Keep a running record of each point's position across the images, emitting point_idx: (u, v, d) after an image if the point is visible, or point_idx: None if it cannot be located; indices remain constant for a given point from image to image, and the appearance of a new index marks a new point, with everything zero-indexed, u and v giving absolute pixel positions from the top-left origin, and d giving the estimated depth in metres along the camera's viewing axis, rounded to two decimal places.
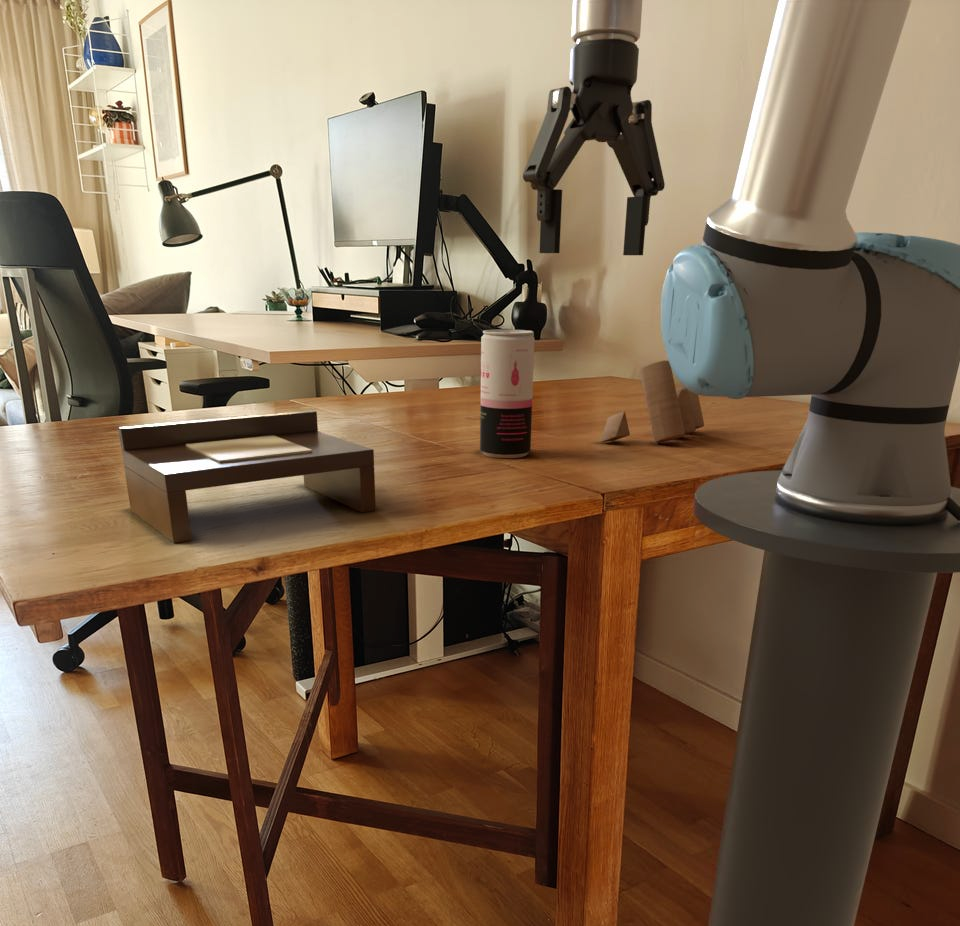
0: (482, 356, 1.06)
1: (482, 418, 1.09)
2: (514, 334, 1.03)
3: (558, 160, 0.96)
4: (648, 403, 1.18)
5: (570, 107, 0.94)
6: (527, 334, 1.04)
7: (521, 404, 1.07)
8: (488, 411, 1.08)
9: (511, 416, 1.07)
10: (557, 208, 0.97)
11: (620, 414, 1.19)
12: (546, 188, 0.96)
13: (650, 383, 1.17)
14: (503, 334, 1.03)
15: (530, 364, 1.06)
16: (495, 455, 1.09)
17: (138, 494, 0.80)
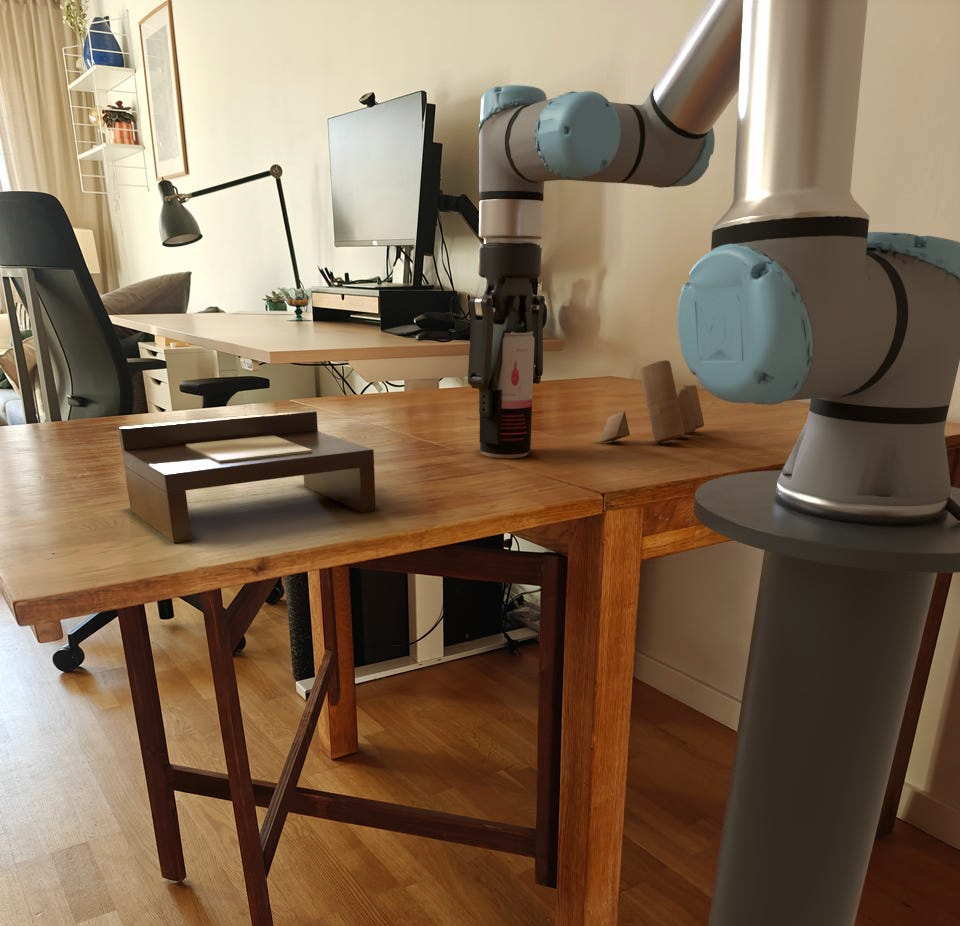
0: None
1: None
2: (514, 334, 1.03)
3: (493, 363, 1.04)
4: (648, 403, 1.18)
5: (493, 312, 1.00)
6: (527, 334, 1.04)
7: (521, 404, 1.07)
8: None
9: (511, 416, 1.07)
10: (498, 406, 1.06)
11: (620, 414, 1.19)
12: (490, 391, 1.05)
13: (649, 383, 1.17)
14: None
15: (530, 363, 1.06)
16: (495, 455, 1.09)
17: (138, 494, 0.80)
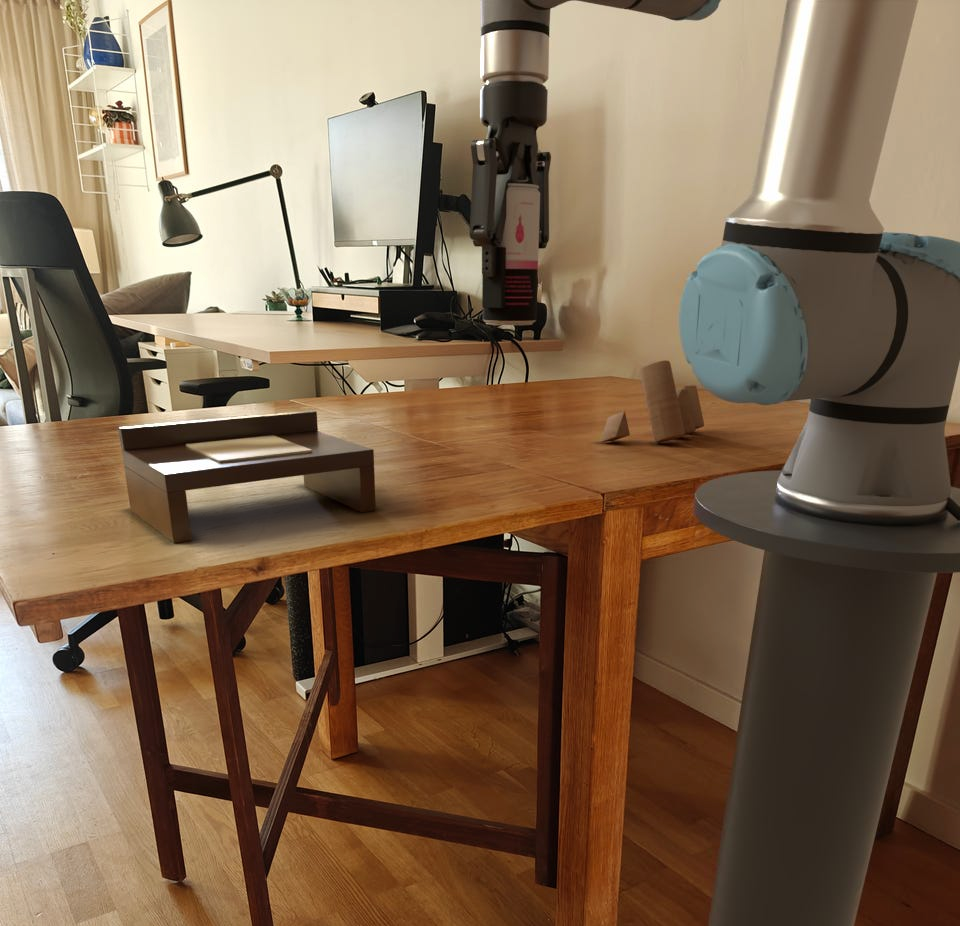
0: None
1: None
2: (518, 185, 0.97)
3: (496, 216, 0.97)
4: (648, 403, 1.18)
5: (496, 156, 0.94)
6: (532, 186, 0.98)
7: (526, 264, 1.00)
8: None
9: (515, 277, 1.00)
10: (502, 265, 0.99)
11: (620, 414, 1.19)
12: (494, 247, 0.98)
13: (649, 383, 1.17)
14: None
15: (536, 220, 1.00)
16: (499, 322, 1.03)
17: (138, 494, 0.80)
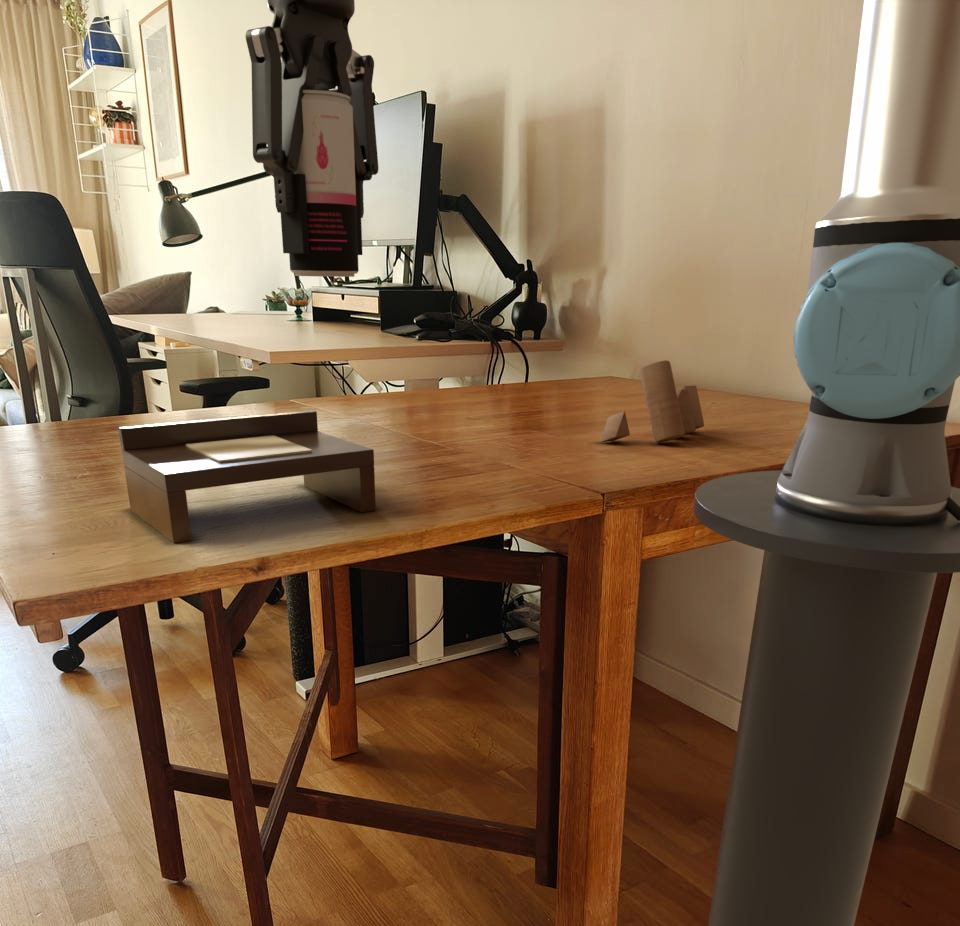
0: None
1: None
2: (317, 92, 0.75)
3: (288, 133, 0.76)
4: (648, 403, 1.18)
5: (280, 51, 0.72)
6: (337, 95, 0.76)
7: (335, 198, 0.79)
8: None
9: (321, 214, 0.79)
10: (301, 197, 0.78)
11: (620, 414, 1.19)
12: (287, 174, 0.77)
13: (649, 383, 1.17)
14: None
15: (346, 140, 0.78)
16: (305, 272, 0.81)
17: (138, 494, 0.80)
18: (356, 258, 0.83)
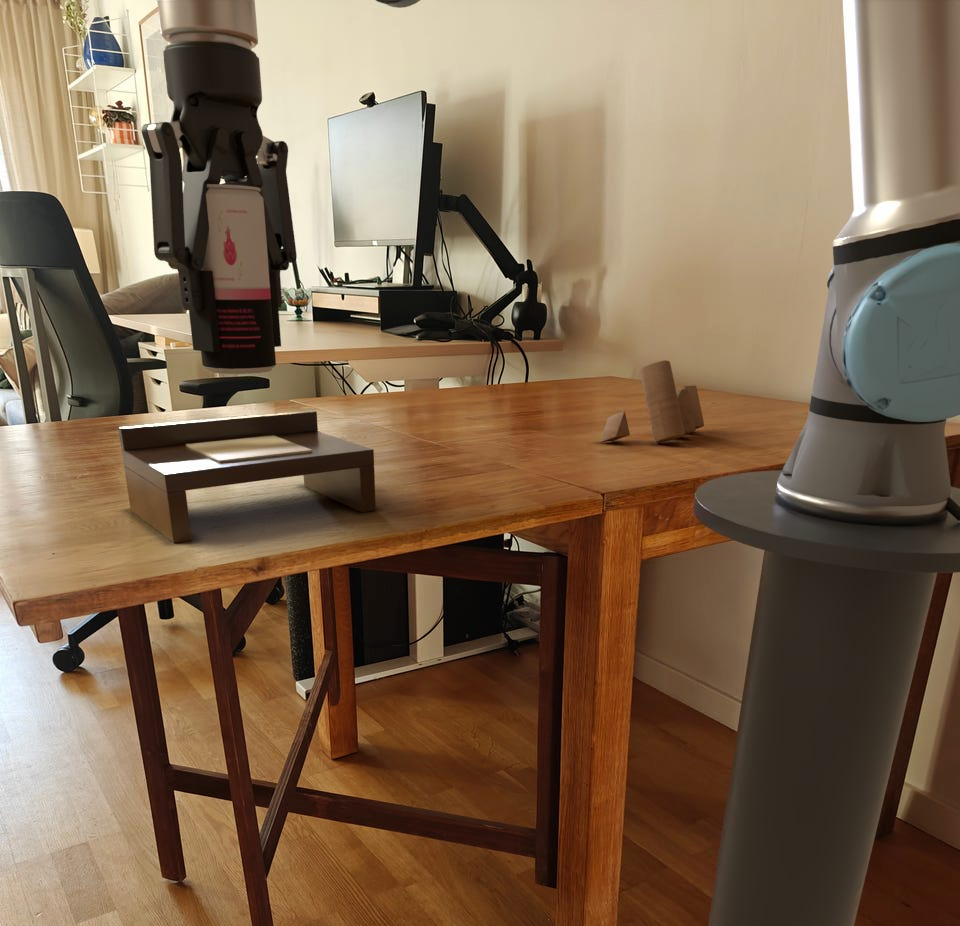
0: None
1: None
2: (221, 186, 0.71)
3: (192, 229, 0.71)
4: (648, 403, 1.18)
5: (179, 147, 0.68)
6: (244, 188, 0.72)
7: (245, 294, 0.74)
8: None
9: (231, 311, 0.74)
10: (209, 295, 0.73)
11: (620, 414, 1.19)
12: (193, 271, 0.72)
13: (649, 383, 1.17)
14: None
15: (256, 234, 0.74)
16: (217, 370, 0.77)
17: (138, 494, 0.80)
18: (272, 353, 0.78)
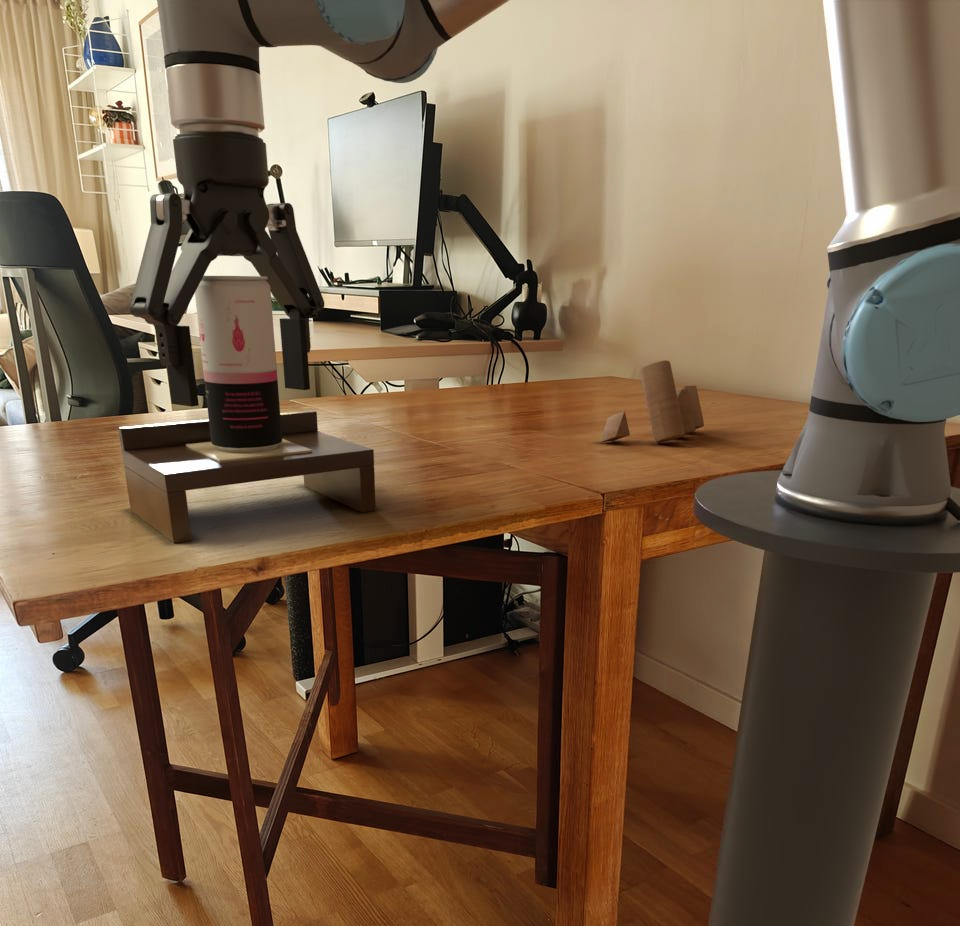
0: (197, 311, 0.77)
1: (206, 398, 0.79)
2: (230, 278, 0.74)
3: (177, 288, 0.71)
4: (648, 403, 1.18)
5: (183, 220, 0.70)
6: (252, 279, 0.75)
7: (253, 378, 0.77)
8: (209, 387, 0.78)
9: (239, 394, 0.77)
10: (186, 350, 0.72)
11: (620, 414, 1.19)
12: (166, 325, 0.71)
13: (649, 383, 1.17)
14: (215, 278, 0.74)
15: (263, 321, 0.76)
16: (225, 449, 0.80)
17: (138, 494, 0.80)
18: (279, 430, 0.81)
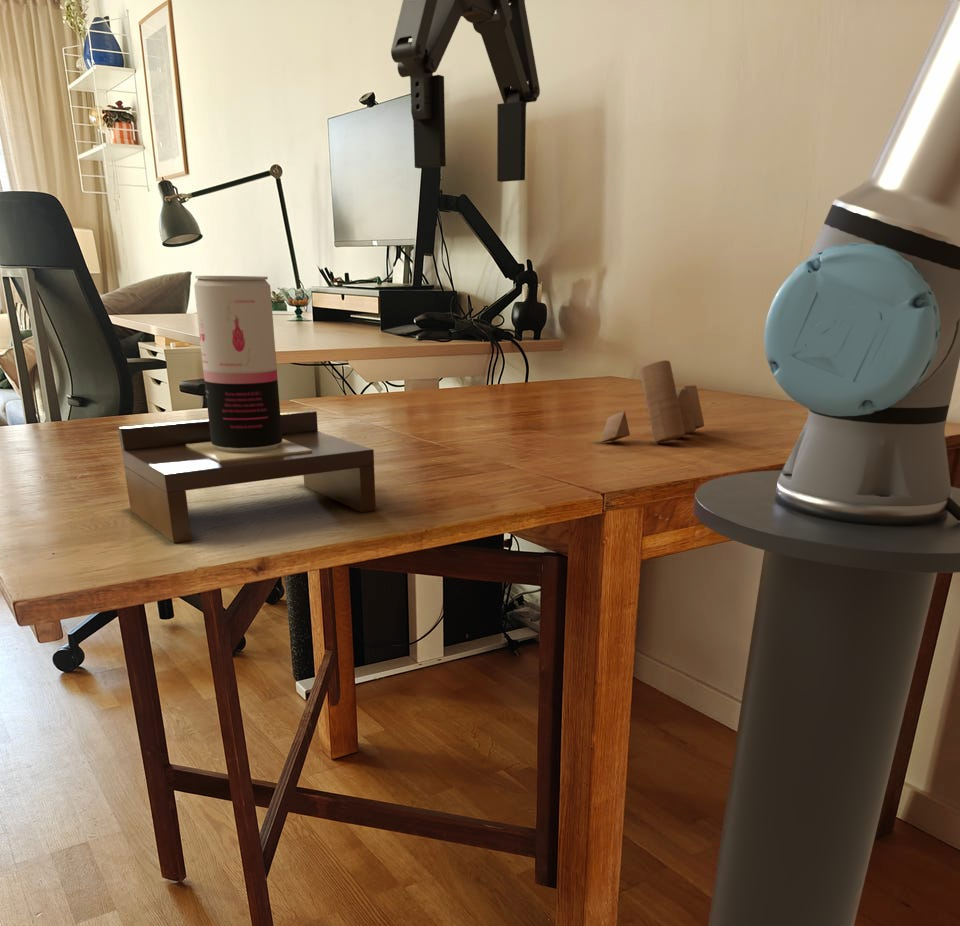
0: (197, 311, 0.77)
1: None
2: (230, 278, 0.74)
3: (435, 35, 0.70)
4: (648, 403, 1.18)
5: None
6: (252, 279, 0.75)
7: (253, 378, 0.77)
8: (209, 387, 0.78)
9: (239, 394, 0.77)
10: (440, 102, 0.71)
11: (620, 414, 1.19)
12: (425, 72, 0.69)
13: (649, 383, 1.17)
14: (215, 278, 0.74)
15: (263, 321, 0.76)
16: (225, 449, 0.80)
17: (138, 494, 0.80)
18: (279, 430, 0.81)
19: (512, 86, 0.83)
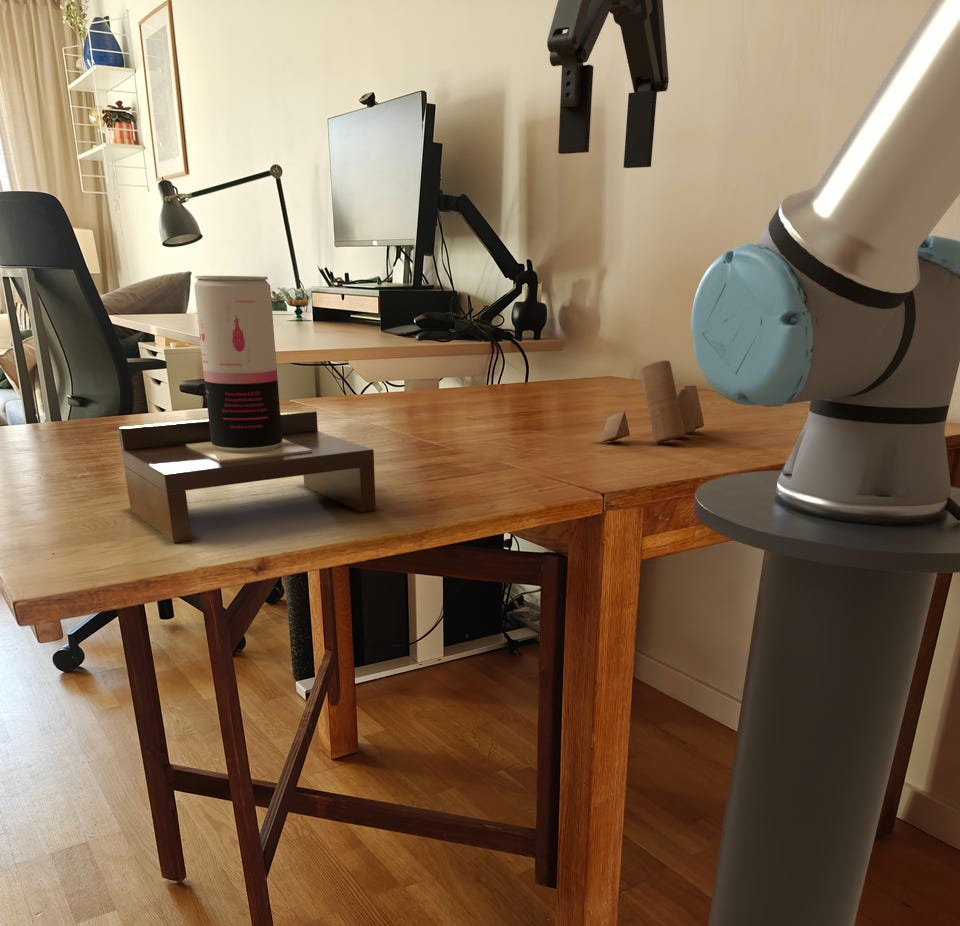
0: (197, 311, 0.77)
1: None
2: (230, 278, 0.74)
3: (588, 26, 0.73)
4: (648, 403, 1.18)
5: None
6: (252, 279, 0.75)
7: (253, 378, 0.77)
8: (209, 387, 0.78)
9: (239, 394, 0.77)
10: (588, 90, 0.74)
11: (620, 414, 1.19)
12: (577, 62, 0.73)
13: (649, 383, 1.17)
14: (215, 278, 0.74)
15: (263, 321, 0.76)
16: (225, 449, 0.80)
17: (138, 494, 0.80)
18: (279, 430, 0.81)
19: (642, 76, 0.86)
